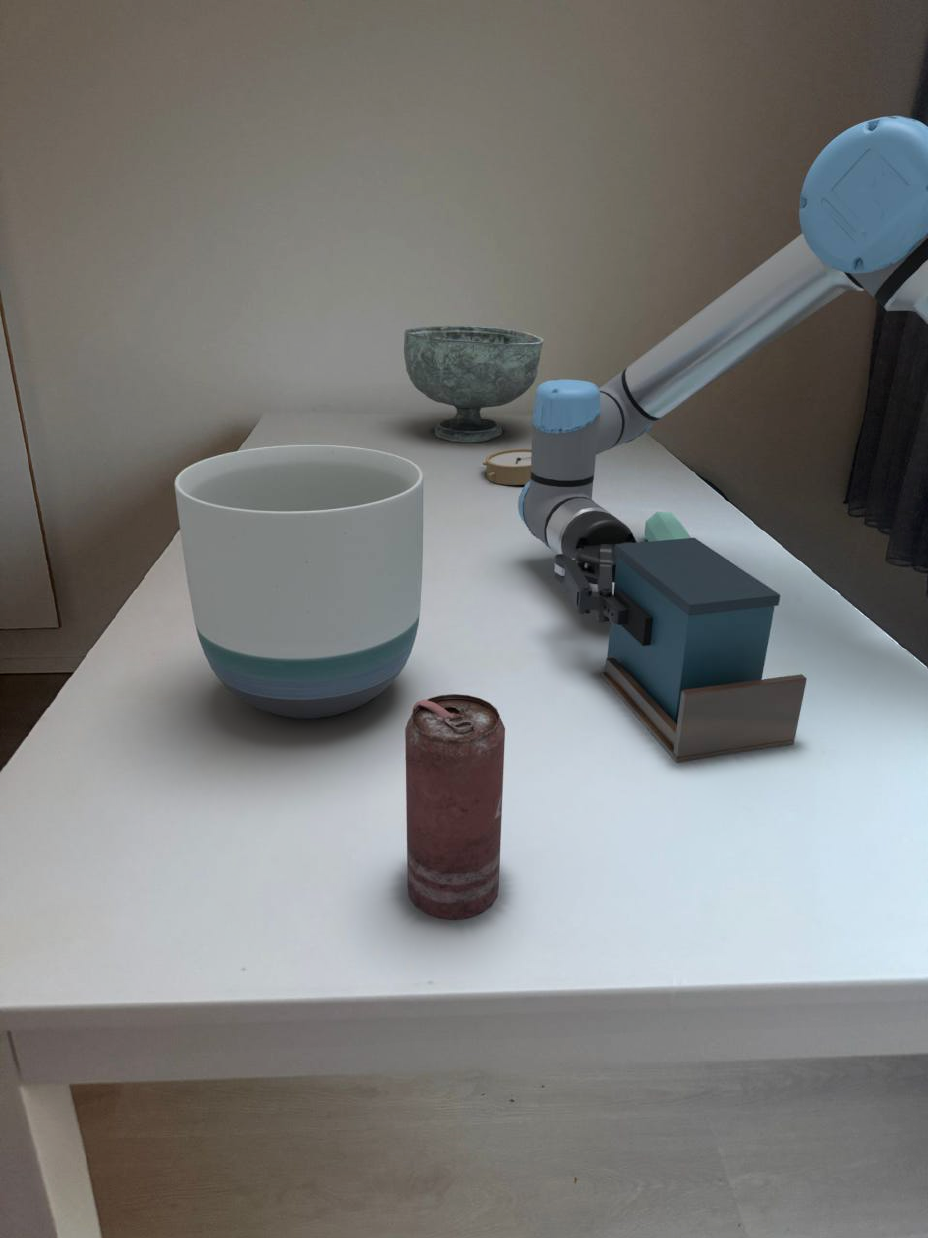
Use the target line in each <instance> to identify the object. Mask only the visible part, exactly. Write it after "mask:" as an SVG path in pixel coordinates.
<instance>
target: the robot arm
mask: <svg viewBox="0 0 928 1238" xmlns="http://www.w3.org/2000/svg"><path fill="white" fill-rule="evenodd" d="M798 215H799V216H798V217H799V224H800V229H801V234H799V235H798V236H796V238H794V239H793V240H792V241H790V242H789V243H788V244H786V245H785V246H784V247H782V248H781V249H780V250H779V251H777V252H776V253H774V254H773V255H772V256H771V257H769V258H768V259H767V260H766V261H764V262H763V263H761V264H760V265H759V266H757V267H756V268H754V270H752V271H751V272H750V273H749V274H747V275H745V277H743V278H742V279H741V280H739V281H738V282H737V283H735V284H734V285H733V286H731V287H730V288H729V289H728V290H726V291H725V292H724V293H722V294H721V295H720V296H718V297H717V298H715V300H713V301H712V302H711V303H709V304H708V305H706V306H705V307H704V308H703V309H701V310H700V311H699V312H698V313H696V314H695V315H694V316H692V317H691V318H689V319H688V320H687V321H685V323H683V324H681V326H679V327H678V328H676V329H675V330H673V332H671V333H670V334H669V335H667V336H666V337H665V338H663V339H662V340H661V341H660V342H658V343H657V344H656V345H654V346H653V347H652V348H650V349H649V350H648V351H646V352H645V353H644V354H643V355H642V356H640V357H639V358H637V359H636V360H635V361H633V362H632V363H631V364H630V365H628V366H627V367H626V368H625V369H623V370H622V371H621V372H619V373H618V374H617V375H615V376H613V378H611V379H610V380H609V381H607V382H606V383H605V384H603V385H602V386H600V387H598V386H597V384H595V383H593V382H590V381H587V380H579V379H558V380H556V379H555V380H553V379H552V380H547V381H544V382H542V383H541V384H539V386H537V388H536V390H535V394H534V395H535V396H534V406H533V411H532V414H531V421H532V428H531V449H532V454H531V476H530V481H529V482H528V483H527V484H526V485H524V487H523V488H522V490H521V491H520V494H519V496H518V501H517V509H518V514H519V517H520V519H521V521H522V522H523V523H524V525H525V527H526V528H527V530H528V531H529V532H530V534H531V535H532V536H534V537H535V538H536V539H538V540H540V541H541V542H542V544H544V545H545V546H546V547H548V548H549V550H551V552H552V553H553V554H555V557H554V575H553V578H554V580H556V581H558V583H561V584H562V585H563V586H564V589H565V590H566V592H567V594H568V596H569V598H570V600H571V602H572V604H573V606H574V608H575V609H576V611H577V613H579V614H580V615H589V614H591V611H597V615H596V616H597V617H596V620H597V621H598V622H599V623H609V622H611V621H612V622H613V623H615V624H617V625H621V626H622V627H623V628H625V629H626V630H627V631H628V632H629V633H630V634H631V635H632V636H633V637H634V638H635V639H636V640H637V641H638V642H639V643H640V644H641V645H642V646H648V645H650V643H651V634H652V626H653V617H652V616H651V615H650V614H649V613H647V612H646V611H645V610H644V609H643V608H642V607H641V606H640V605H638V604H637V603H636V602H635V601H634V600H633V599H632V598H631V597H630V596H628V595H627V594H626V593H625V592H624V591H623V590H615V592H614V587H613V584H614V581H615V571H616V560H617V556H616V555H614V549H615V545H616V544H627V543H638V542H637V540H636V537H635V535H634V534H633V532H632V530H631V528H629V526H628V525H626V523H624V522H623V521H622V520H620V519H619V518H617V517H616V516H615V515H613V514H612V513H611V512H610V511H609V510H607V509H605V508H604V507H603V506H602V505H600V504H598V503H597V502H596V501H594V500H593V489H594V480H595V471H596V470H595V469H596V460H597V459H596V458H597V455H599V454H602V453H604V452H607V451H609V450H611V449H613V448H615V447H618V446H621V445H622V444H626V443H630V442H633V441H635V440H636V439H638V438H640V437H641V436H643V435H644V434H645V433H646V432H648V431H649V430H650V429H651V427H652V426H653V425H654V424H655V423H657V422H658V421H659V420H661V418H663V417H664V416H666V415H667V414H669V413H670V412H672V411H673V410H675V409H676V408H678V407H679V406H680V405H682V404H683V403H685V402H686V401H688V400H689V399H690V398H692V397H693V396H695V395H696V394H698V393H699V392H701V391H702V390H704V389H705V388H707V387H709V386H710V385H711V384H712V383H714V382H716V381H717V380H718V379H720V378H721V377H722V376H724V375H726V374H727V373H728V372H730V371H732V369H734V368H736V367H738V365H740V364H741V363H743V362H745V361H746V360H747V359H748V358H751V356H753V355H755V354H756V353H758V352H759V351H760V350H762V349H763V348H765V347H766V346H768V345H769V344H770V343H772V342H773V341H775V340H776V339H778V338H780V337H781V336H782V335H783V334H785V333H786V332H788V331H790V330H791V329H792V328H794V327H795V326H796V325H799V324H800V323H801V322H802V321H804V320H805V319H807V318H808V317H810V316H812V315H813V314H814V313H815V312H817V311H819V310H820V309H821V308H823V307H824V306H826V305H827V304H829V303H830V302H831V301H833V300H834V299H836V298H837V297H839V296H840V295H841V294H843V293H845V292H846V291H849V290H850V291H859V292H863V291H865V290H866V291H867V293H868V294H869V295H870V296H872V298H874V300H876V301H877V303H879V304H880V305H881V307H882V308H884V309H885V310H886V312H896V311H897V312H899V311H906V312H907V311H910V312H914V313H916V314H917V315H918V316H919V317H920V318H921V319H922V320H923V321H924V322H925V323H926V324H927V325H928V126H927V125H926V124H925V123H923V122H921V121H920V120H917V119H914V118H910V117H908V116H900V115H891V116H882V117H877V118H873V119H869V120H866V121H863V122H860V123H858V124H855V125H853V126H851V127H849V128H848V129H845V130H844V131H843V132H842V133H840V134H838V135H836V137H835V138H833V139H832V140H831V141H830V142H829V143H828V144H827V145H826V146H825V147H824V148H823V149H822V151H821V152H820V153H819V154H818V155H817V157H816V158H815V160H814V162H813V163H812V165H811V166H810V168H809V170H808V172H807V174H806V176H805V179H804V182H803V184H802V188H801V192H800V198H799V209H798ZM591 585H595V586H597V589H596V590H597V591H595V590H594V591H593V587H592V586H591ZM613 592H614V596H613Z"/></svg>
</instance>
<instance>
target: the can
mask: <svg viewBox="0 0 928 1238" xmlns="http://www.w3.org/2000/svg"><path fill="white" fill-rule="evenodd" d="M404 730H405V731H404V734H405V735H404V736H405V738H404V739H405V742H404V743H405V801H406V803H405V804H406V805H405V806H406V809H405V811H406V863H407V865H406V872H407V873H406V876H407V878H406V879H407V881H406V883H407V892H408V897H409V898H410V900H411V901H412V903H413V904H414V906H415V907H416V908H417V909H419V910H421V912H424V913H425V914H426V915H429V916H432V917H434V918H438V919H443V920H453V921H457V920H465V919H470V918H472V917H475V916H478V915H480V914H482V913H483V912H485V911H486V910H488V909H489V908H490V907H492V906H493V904H494V903H495V900H496V899H497V898H498V896H499V887H500V868H501V867H500V866H501V864H500V863H501V844H502V843H501V840H502V839H501V838H502V818H503V817H502V816H503V813H502V812H503V791H504V790H503V789H504V769H505V768H504V767H505V766H504V764H505V742H506V727H505V725H504V722H503V720H502V718H501V715H500V712H499V711H498V709H497V708H496V707H495V706H494V705H493V704H492V703H491V702H489V701H487V700H485V699H483V698H482V697H481V698H480V697H477V696H474V695H473V696H472V695H468V694H460V693H459V694H458V693H450V694H441V695H437V696H432V697H429V698H427V699H425V698H423V699H420V700H419V701H416V702H415V704H414V705H413V707H412V712H411V714H410V717H409V718H408V720H407V723H406V726H405V729H404Z"/></svg>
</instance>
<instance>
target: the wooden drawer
mask: <svg viewBox="0 0 928 1238" xmlns="http://www.w3.org/2000/svg"><path fill="white" fill-rule="evenodd" d="M600 674H601V675H600V677H601V678H602V680H603V681H604V682H605V683H606V684H607V685H608V687H609V688H610V689H611V690H612V691H613V692H614V693H615V694H616V695H617V697H618V698H619V699H620V700H621V701H622V702H623V703H624V705H625V706H626V707H627V708H628V709H629V710H630V712H631V713H632V714H633V715H634V716H635V718H637V720H638V721H639V722H640V723H641V724H642V725H643V727H644V728H645V729H646V730H647V731H648V732H649V733H650V734H651V736H652V737H653V738H654V739H655V740H656V741H657V742H658V744H659V745H660V746H661V747H662V748H663V749H664V750H665V752H666V753H667V754H668V755H669V757H671V758H672V759H673V761H674V762H675V763H676V764H677V763H685V762H691V761H697V760H704V759H710V758H716V757H722V756H723V757H724V756H729V755H736V754H742V753H747V752H755V751H762V750H767V749H774V748H780V747H787V746H793V745H795V739H796V735H797V731H798V725H799V720H800V715H801V710H802V705H803V701H804V695H805V690H806V685H807V680H808V677H806V676H805V675H803V674H801V673H800V674H792V675H784V676H777V677H770V678H762V680H755V681H747V682H740V683H732V684H725V685H718V686H710V687H703V688H695V689H688V690H682V691H681V699H680V706H679V713H678V721H677V724H676V723H675V722H674V721H673V720H672V719H671V718H670V717H669V715H668V714H667V713H666V712H665V711H664V710H663V709H662V708H661V707H660V706H659V705H658V704H657V703H656V702H655V701H654V699H653V698H652V697H651V696H650V695H649V694H648V693H647V692H646V691H645V690H644V689H643V688H642V687H641V686H640V685H639V684H638V682H637V681H636V680H635V679H634V678H633V677H632V676H631V675H630V674H629V673H628V672H627V671H626V670H625V669H624V668H623V667H622V665H621V664H620V663H619V662H618V661H617V660H616V659H615V658H614V657H612V658H606V659H605V671H602V672H601V673H600Z"/></svg>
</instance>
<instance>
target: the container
mask: <svg viewBox="0 0 928 1238" xmlns="http://www.w3.org/2000/svg"><path fill="white" fill-rule="evenodd" d="M644 537H645V539H646V540H647V542H650V541H661V540H673V539H684V538H692V537H691V535H690V534H689V533H688V530H686V528H685V527H684V525H683V524H682V523H681V521H680V520H679V519H678V518H677V517H676V516H675V515H674V514H673V513H672V511H657V512H654V514H652V515H651V516H650V517H649V518H648V519H647V520H646V521H645V524H644Z"/></svg>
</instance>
